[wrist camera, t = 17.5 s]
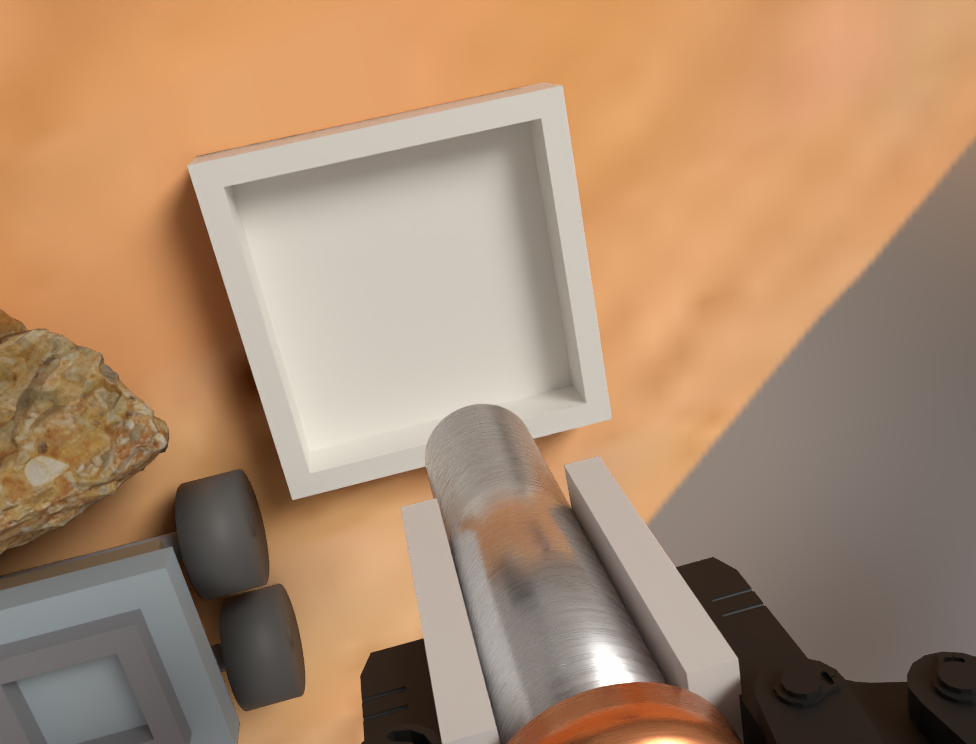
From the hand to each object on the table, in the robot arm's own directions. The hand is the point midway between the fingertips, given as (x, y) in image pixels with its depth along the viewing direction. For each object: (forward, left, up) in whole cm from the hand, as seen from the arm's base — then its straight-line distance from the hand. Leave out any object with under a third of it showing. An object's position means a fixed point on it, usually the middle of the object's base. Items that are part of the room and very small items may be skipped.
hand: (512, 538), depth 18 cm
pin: (0, 0, -4) cm, 4 cm away
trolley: (+11, -16, -21) cm, 28 cm away
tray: (0, 0, -21) cm, 21 cm away
